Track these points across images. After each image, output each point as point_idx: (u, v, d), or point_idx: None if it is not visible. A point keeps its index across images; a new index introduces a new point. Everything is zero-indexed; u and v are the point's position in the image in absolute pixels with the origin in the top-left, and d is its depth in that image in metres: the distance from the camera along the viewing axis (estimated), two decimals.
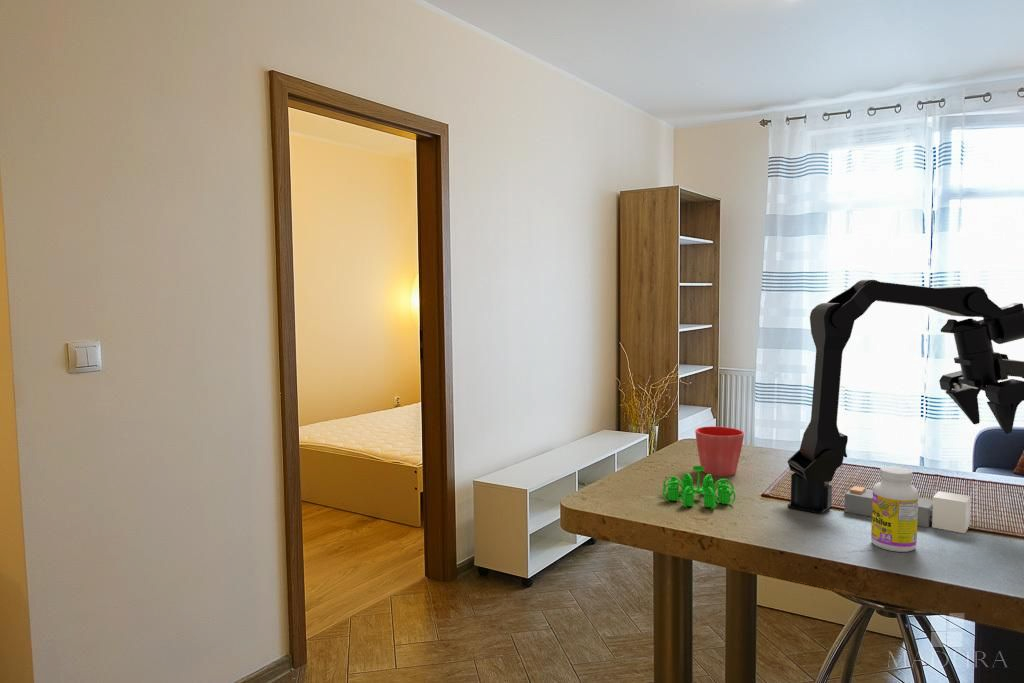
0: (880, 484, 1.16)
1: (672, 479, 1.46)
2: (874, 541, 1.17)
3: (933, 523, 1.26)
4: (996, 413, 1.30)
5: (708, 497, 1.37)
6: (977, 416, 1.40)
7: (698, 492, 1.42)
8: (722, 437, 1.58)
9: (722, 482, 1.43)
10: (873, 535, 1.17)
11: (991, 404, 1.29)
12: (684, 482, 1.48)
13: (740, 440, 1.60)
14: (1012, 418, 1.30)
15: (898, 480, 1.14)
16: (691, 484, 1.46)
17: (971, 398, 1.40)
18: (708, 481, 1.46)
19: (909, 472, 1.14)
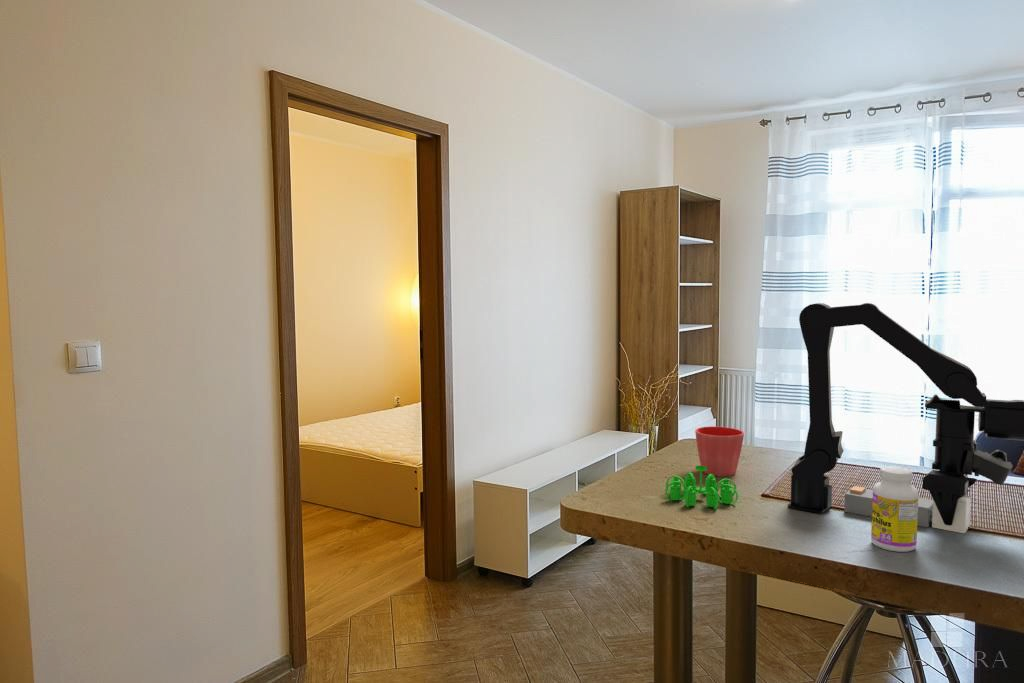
0: (880, 484, 1.16)
1: (675, 479, 1.46)
2: (874, 541, 1.17)
3: (933, 523, 1.26)
4: (933, 498, 1.24)
5: (710, 497, 1.37)
6: None
7: (701, 492, 1.42)
8: (722, 437, 1.58)
9: (725, 482, 1.44)
10: (873, 535, 1.17)
11: None
12: (687, 482, 1.48)
13: (740, 440, 1.60)
14: (952, 510, 1.23)
15: (898, 480, 1.14)
16: (694, 484, 1.46)
17: None
18: (711, 481, 1.46)
19: (909, 472, 1.14)
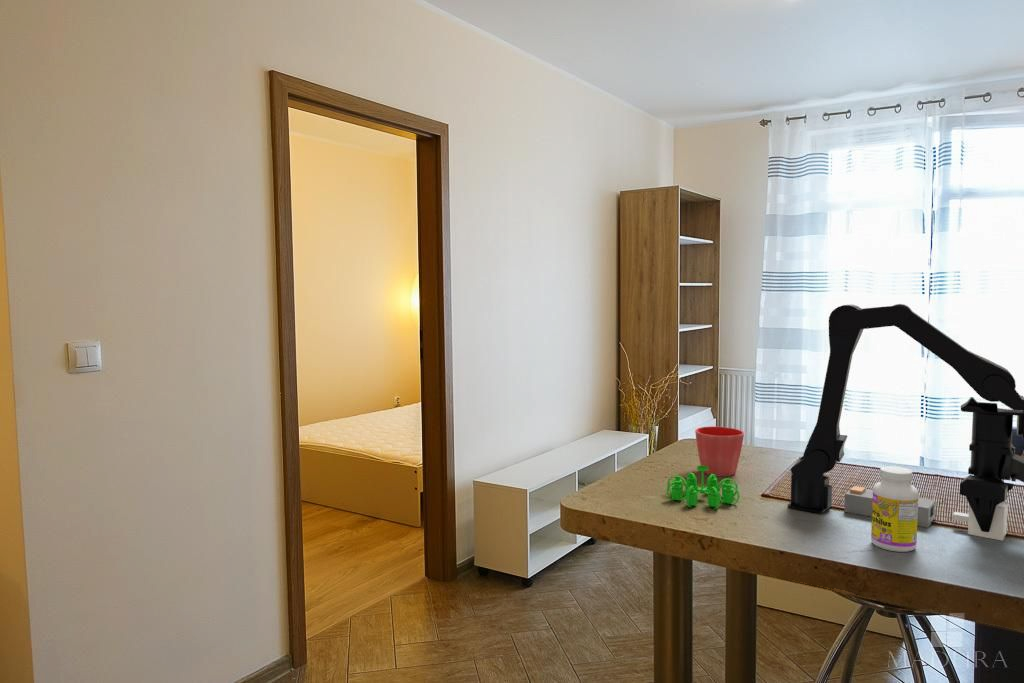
0: (880, 484, 1.16)
1: (676, 479, 1.46)
2: (874, 541, 1.17)
3: (969, 530, 1.22)
4: None
5: (712, 497, 1.37)
6: None
7: (702, 492, 1.42)
8: (722, 437, 1.58)
9: (726, 482, 1.44)
10: (873, 535, 1.17)
11: None
12: (688, 482, 1.48)
13: (740, 440, 1.60)
14: (989, 517, 1.19)
15: (898, 480, 1.14)
16: (695, 484, 1.46)
17: None
18: (712, 481, 1.47)
19: (909, 472, 1.14)
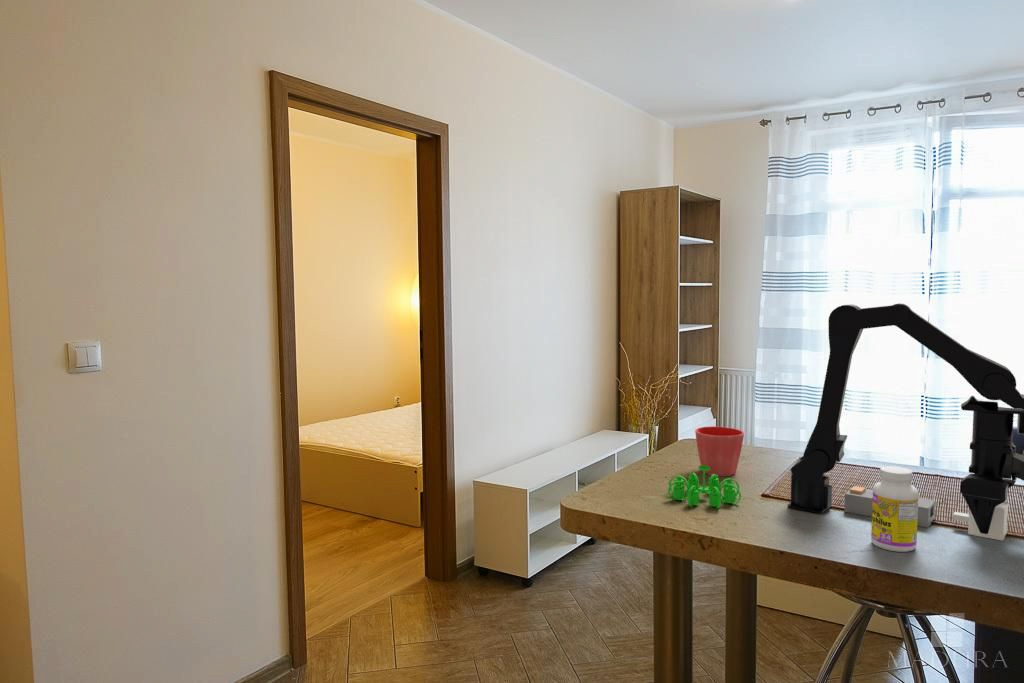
0: (880, 484, 1.17)
1: (678, 478, 1.46)
2: (874, 541, 1.17)
3: (969, 530, 1.22)
4: (968, 505, 1.19)
5: (713, 496, 1.37)
6: None
7: (704, 491, 1.42)
8: (722, 437, 1.58)
9: (728, 482, 1.44)
10: (873, 535, 1.17)
11: None
12: (690, 482, 1.48)
13: (740, 440, 1.60)
14: (988, 518, 1.17)
15: (898, 480, 1.14)
16: (697, 484, 1.47)
17: None
18: (714, 481, 1.47)
19: (909, 472, 1.14)
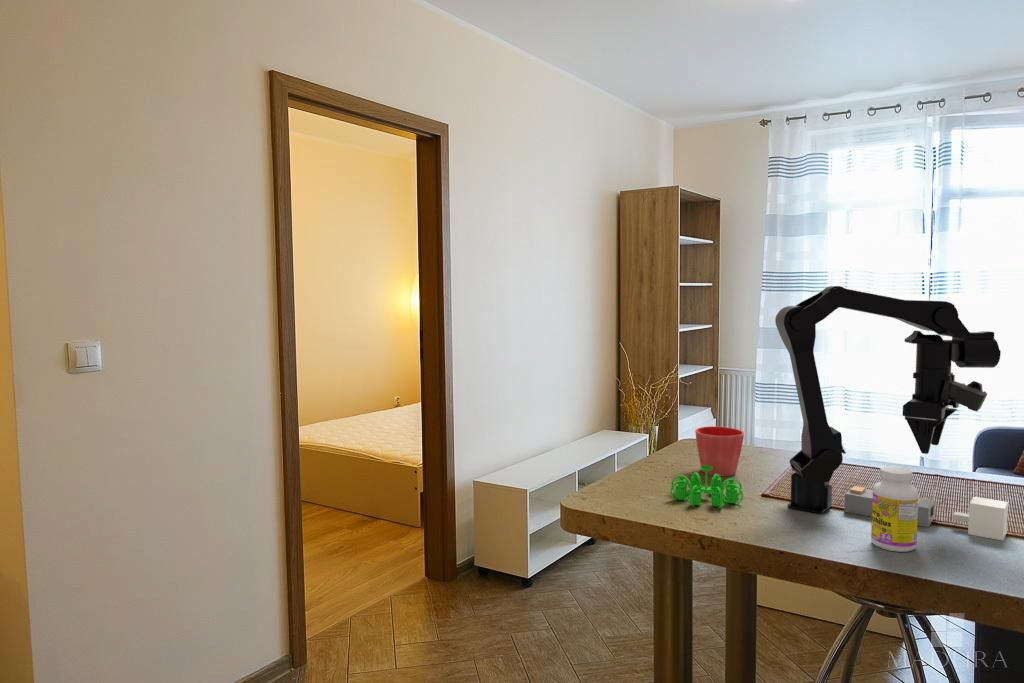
0: (880, 484, 1.16)
1: (680, 478, 1.46)
2: (874, 541, 1.17)
3: (969, 530, 1.22)
4: None
5: (715, 496, 1.37)
6: (937, 437, 1.37)
7: (706, 491, 1.43)
8: (722, 437, 1.58)
9: (730, 482, 1.44)
10: (873, 535, 1.17)
11: None
12: (692, 481, 1.48)
13: (740, 440, 1.60)
14: (928, 439, 1.29)
15: (898, 480, 1.14)
16: (699, 483, 1.47)
17: None
18: (716, 481, 1.47)
19: (909, 472, 1.14)
